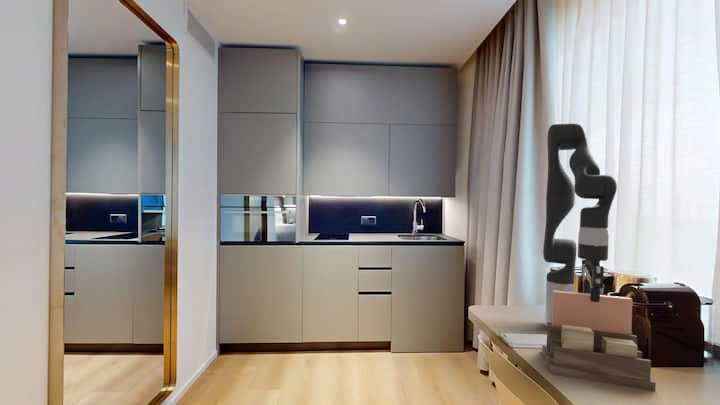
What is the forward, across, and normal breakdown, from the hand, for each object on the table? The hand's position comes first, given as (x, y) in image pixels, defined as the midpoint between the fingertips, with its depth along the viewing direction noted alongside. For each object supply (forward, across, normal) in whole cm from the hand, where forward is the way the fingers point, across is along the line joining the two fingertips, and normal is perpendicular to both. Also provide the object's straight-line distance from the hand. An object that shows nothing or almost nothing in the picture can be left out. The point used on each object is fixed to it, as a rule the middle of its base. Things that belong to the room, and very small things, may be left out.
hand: (590, 298), depth 111 cm
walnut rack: (+19, +4, 0) cm, 19 cm away
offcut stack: (+17, +8, 0) cm, 19 cm away
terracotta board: (+17, 0, 0) cm, 17 cm away
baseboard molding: (+20, -12, -8) cm, 25 cm away
